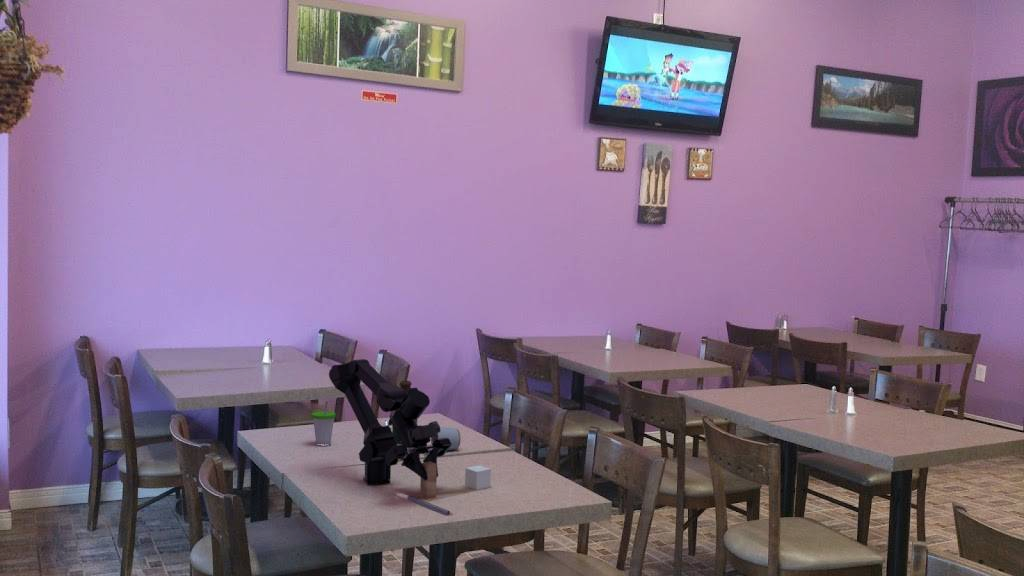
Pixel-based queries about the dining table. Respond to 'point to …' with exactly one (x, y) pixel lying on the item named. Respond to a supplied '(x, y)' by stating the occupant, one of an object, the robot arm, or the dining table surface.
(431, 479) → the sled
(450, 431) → the ceramic mug
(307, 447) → the dining table surface
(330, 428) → the cup
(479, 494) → the dining table surface
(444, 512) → the lane rails
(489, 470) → the light blue-gray cube
